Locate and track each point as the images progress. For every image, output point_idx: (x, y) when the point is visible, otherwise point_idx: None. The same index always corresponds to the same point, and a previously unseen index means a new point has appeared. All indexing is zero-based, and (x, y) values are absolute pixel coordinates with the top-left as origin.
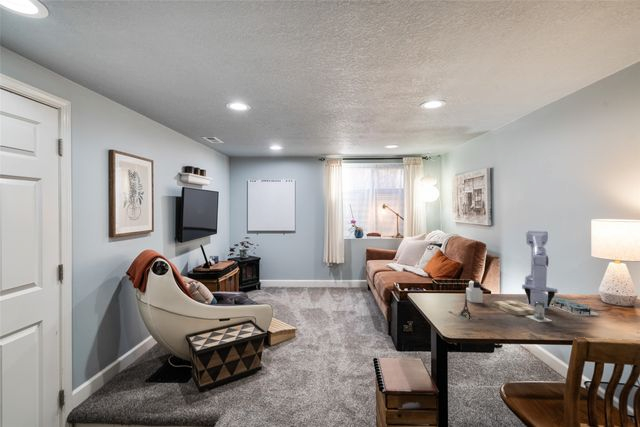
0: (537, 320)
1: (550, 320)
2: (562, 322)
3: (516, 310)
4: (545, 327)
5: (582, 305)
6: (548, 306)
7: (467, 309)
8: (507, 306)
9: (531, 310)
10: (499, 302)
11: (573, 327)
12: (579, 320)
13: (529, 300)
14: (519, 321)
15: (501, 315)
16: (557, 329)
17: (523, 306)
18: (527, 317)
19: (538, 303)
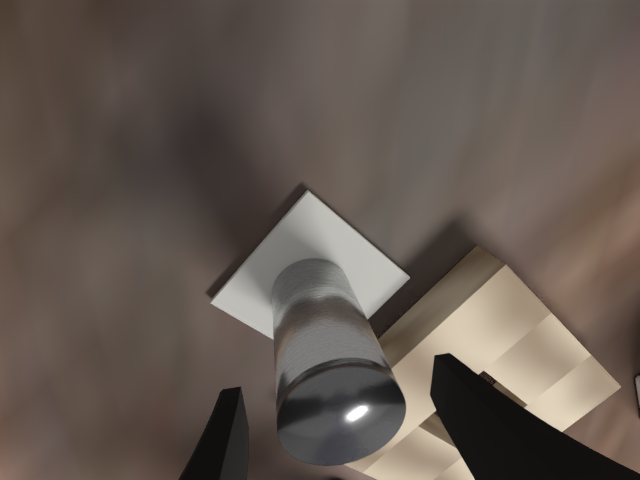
0: (321, 215)
1: (223, 295)
2: (138, 329)
3: (494, 284)
4: (246, 45)
5: None
6: (228, 392)
7: None
8: (542, 345)
9: None
10: (574, 401)
11: (28, 252)
12: (48, 460)
13: (478, 385)
14: (469, 84)
15: (585, 168)
16: (133, 59)
17: (421, 427)
18: (391, 261)
19: (356, 374)
